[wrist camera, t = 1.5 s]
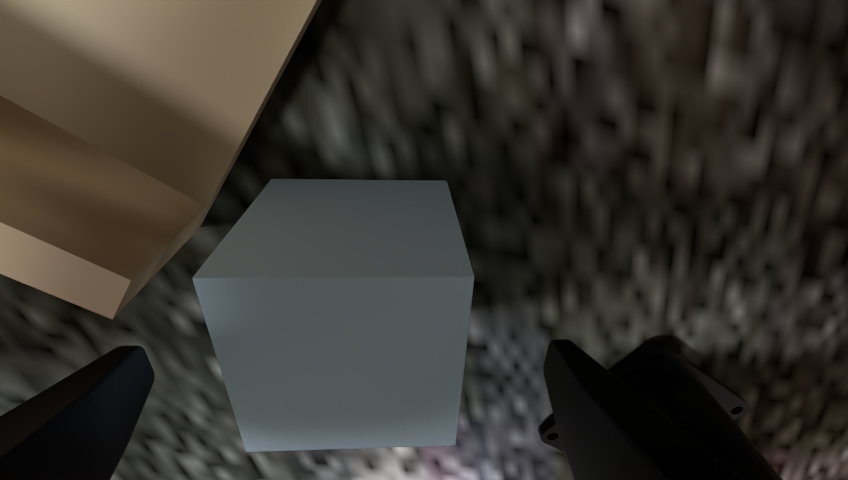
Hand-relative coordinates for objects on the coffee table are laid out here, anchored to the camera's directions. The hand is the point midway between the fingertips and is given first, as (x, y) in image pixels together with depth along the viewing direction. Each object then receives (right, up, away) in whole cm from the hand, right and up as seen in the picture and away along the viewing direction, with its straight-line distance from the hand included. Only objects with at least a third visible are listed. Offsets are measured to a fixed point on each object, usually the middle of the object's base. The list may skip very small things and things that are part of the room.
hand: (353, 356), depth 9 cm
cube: (0, +2, +4) cm, 4 cm away
